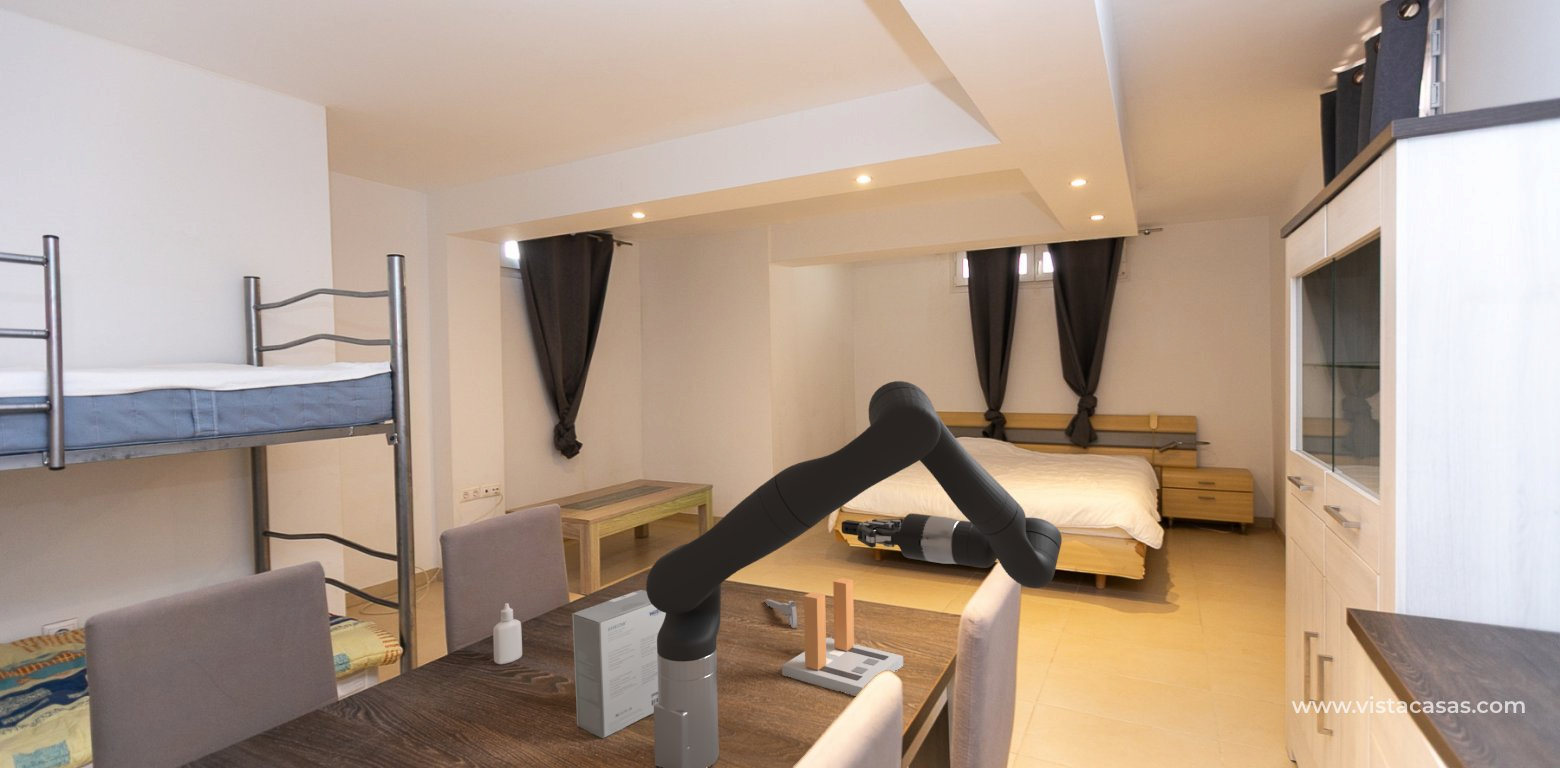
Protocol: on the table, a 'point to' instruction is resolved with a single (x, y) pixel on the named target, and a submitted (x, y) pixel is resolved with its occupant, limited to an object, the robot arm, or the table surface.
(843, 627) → the switch tab
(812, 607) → the switch tab
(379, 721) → the table surface
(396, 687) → the table surface
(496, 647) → the eye dropper bottle
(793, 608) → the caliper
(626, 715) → the hard drive box
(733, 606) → the table surface
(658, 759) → the robot arm
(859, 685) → the switch panel
